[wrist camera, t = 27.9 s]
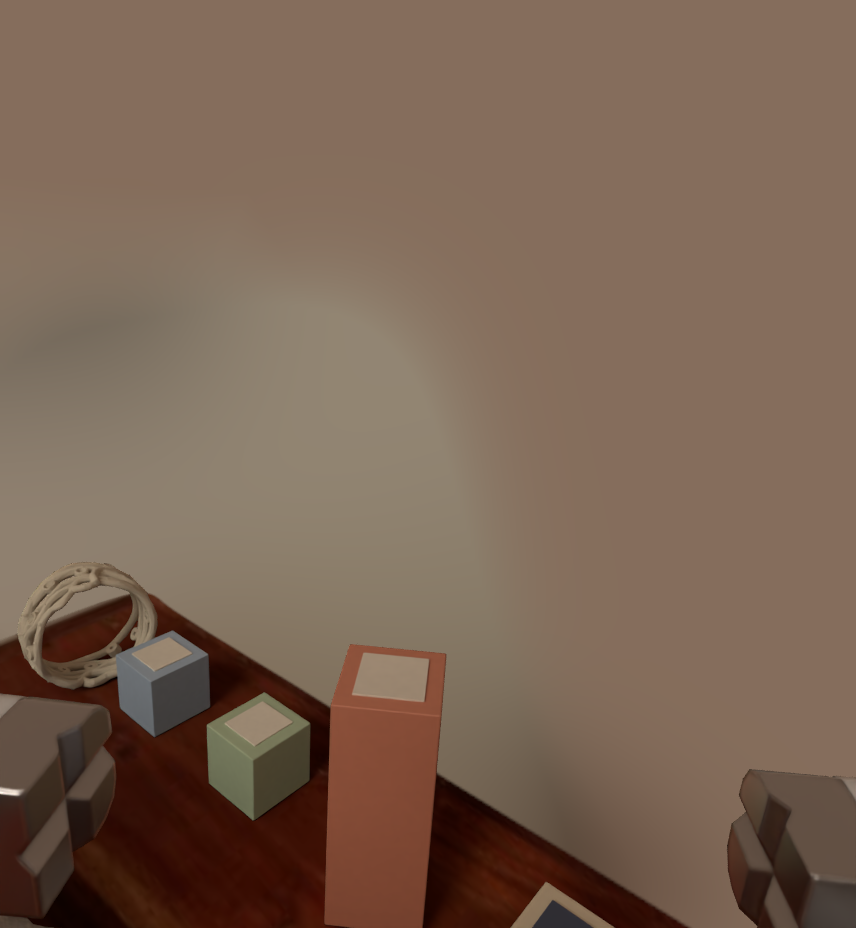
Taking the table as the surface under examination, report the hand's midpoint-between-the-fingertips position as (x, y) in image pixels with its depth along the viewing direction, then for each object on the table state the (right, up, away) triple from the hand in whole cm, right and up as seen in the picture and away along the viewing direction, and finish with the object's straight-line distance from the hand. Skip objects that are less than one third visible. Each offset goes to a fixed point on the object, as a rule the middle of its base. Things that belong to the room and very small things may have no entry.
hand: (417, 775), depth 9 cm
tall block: (-2, -17, +25) cm, 30 cm away
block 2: (-9, -14, +31) cm, 36 cm away
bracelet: (-23, -11, +39) cm, 47 cm away
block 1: (-17, -12, +37) cm, 42 cm away
